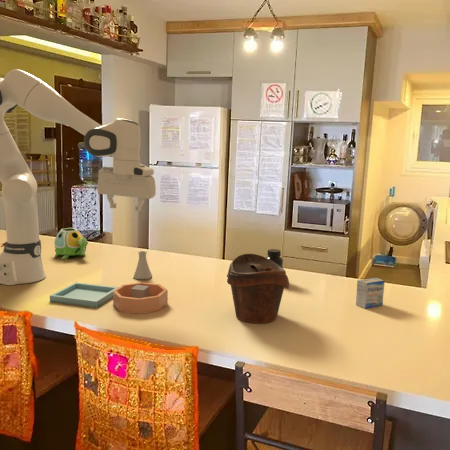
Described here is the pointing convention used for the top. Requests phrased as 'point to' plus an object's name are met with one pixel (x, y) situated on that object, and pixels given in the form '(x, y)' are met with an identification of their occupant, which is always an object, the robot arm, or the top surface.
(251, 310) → the brown lidded bucket
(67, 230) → the turtle holder
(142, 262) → the flask
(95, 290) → the parts tray
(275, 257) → the supplement bottle
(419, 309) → the top surface
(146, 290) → the grey square block
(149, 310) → the terracotta bowl
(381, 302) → the medicine box
